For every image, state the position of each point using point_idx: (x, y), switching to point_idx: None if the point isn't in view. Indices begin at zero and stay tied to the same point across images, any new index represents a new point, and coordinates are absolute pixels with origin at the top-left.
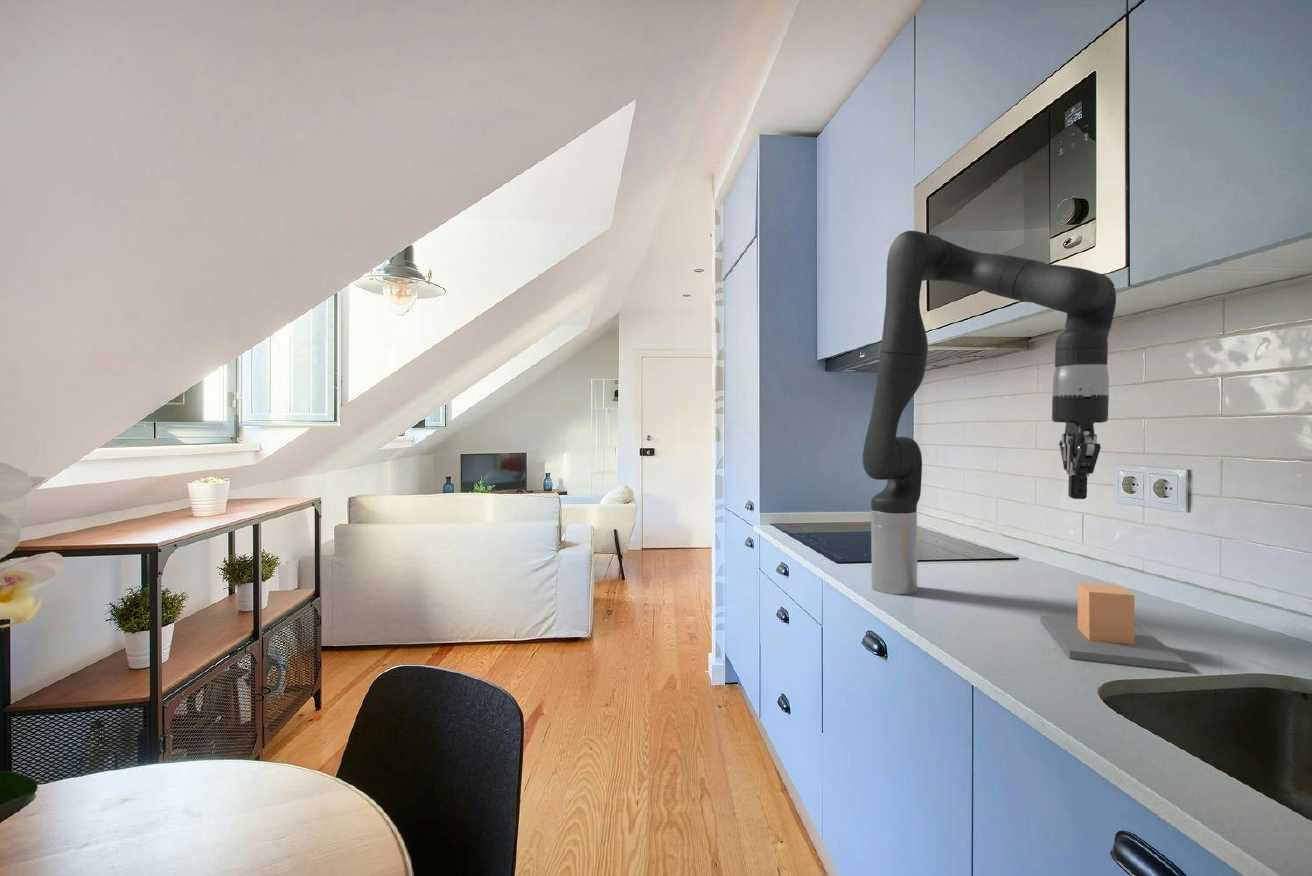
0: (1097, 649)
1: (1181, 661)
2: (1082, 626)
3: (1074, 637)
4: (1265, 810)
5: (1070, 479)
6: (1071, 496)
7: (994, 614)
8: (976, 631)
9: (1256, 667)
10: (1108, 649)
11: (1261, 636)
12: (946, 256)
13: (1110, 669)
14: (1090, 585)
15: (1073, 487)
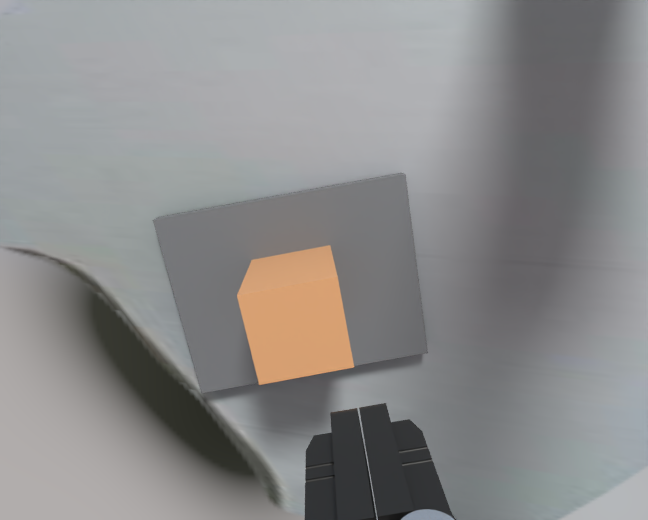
0: (192, 268)
1: (205, 386)
2: (295, 255)
3: (254, 234)
4: None
5: (356, 496)
6: (331, 416)
7: (430, 67)
8: (253, 28)
9: (299, 472)
10: (206, 287)
11: (492, 513)
12: None
13: (148, 278)
14: (320, 304)
15: (333, 466)
